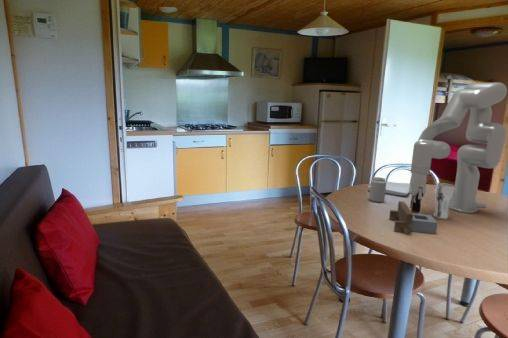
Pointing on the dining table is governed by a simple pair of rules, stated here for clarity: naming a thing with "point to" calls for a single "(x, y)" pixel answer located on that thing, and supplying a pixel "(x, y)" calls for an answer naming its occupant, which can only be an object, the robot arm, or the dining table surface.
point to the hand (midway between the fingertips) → (414, 209)
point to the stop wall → (402, 218)
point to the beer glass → (443, 200)
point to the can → (377, 189)
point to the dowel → (412, 204)
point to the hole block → (423, 223)
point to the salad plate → (396, 189)
